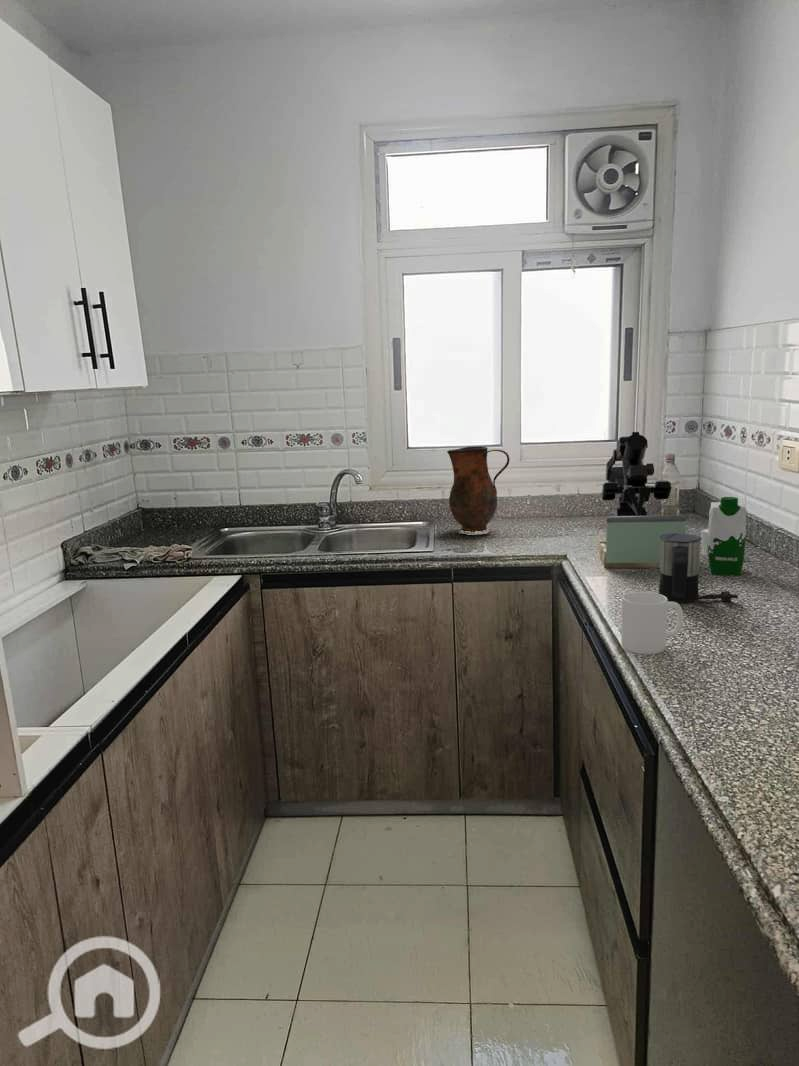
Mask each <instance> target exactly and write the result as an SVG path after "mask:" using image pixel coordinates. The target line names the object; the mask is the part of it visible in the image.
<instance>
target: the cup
mask: <svg viewBox="0 0 799 1066" xmlns="http://www.w3.org/2000/svg"><path fill="white" fill-rule="evenodd" d="M669 609H674V610H675V611H676V619H677V620H676V625H675V627H674V628H673V629H672V630H667V628H668V626H667V625H668V610H669ZM683 613H684V612H683V609H682V606H681V605H680V604H679V602H671V601H668V599H667V597H665V596H663V595H661V594H658V593H657V592H652V591H651V592H650V591H632V592H628V593H625V594H623V595H622V596H621V639H620V641H621V646H622V647H623V649H624V650H625V651H627V652H628V653H631V654H632V653H633V654H636V655H645V656H646V655H647V656H650V655H657V654H661V653H663V652H664V651H665V649H666V647H667V639H668V638H669V639H670V638H672V637H675V636H677V635H678V634H679V633H680V631H681V630H682V628H683V624H684V614H683Z"/></svg>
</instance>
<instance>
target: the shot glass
mask: <svg viewBox="0 0 799 1066" xmlns="http://www.w3.org/2000/svg"><path fill="white" fill-rule="evenodd" d="M700 537H701V538H702V539H701V540H700V542H701V555H703V556H705V555H706V556H705V557H708V528H703V529H701V530H700Z"/></svg>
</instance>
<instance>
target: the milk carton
mask: <svg viewBox="0 0 799 1066" xmlns="http://www.w3.org/2000/svg"><path fill="white" fill-rule="evenodd" d="M709 507H710V508H709V514H708V518H709V519H708V528H707V529H708V556H707V557H708V559H707V560H708V564H709V565H708V566H709V570H710V573H711V575H719V574H720V575H721V576H722V575H723V576H726V575H727V576H742V575H741V574H742V570H743V565H744V564H743V563H744V560H745V550H746V549H745V548H746V529H747V508H746V505H745V504H744V503H743V502H739V498H738V497H737V496H736V497H734V496H723V497H721V498H720V502H718V501H716V502H714V501H713V502H711V503H710V506H709Z"/></svg>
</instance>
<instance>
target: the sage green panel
mask: <svg viewBox="0 0 799 1066" xmlns="http://www.w3.org/2000/svg"><path fill="white" fill-rule="evenodd" d="M605 519H606V520H605V521H606V522H605V523H606V524H605V525H606V527H605V528H606V529H605V531H606V533H605V541H606V563H660V551H661V538H660V536H661V535H664V534H672V533H678V534H687V533H686V532H687V530H686V529H687V526H686V525H687V515H686V514H682V515H681V514H679V515H678V514H677V515H675V514H673V515H671V514H669V515H667V514H666V515H664V514H663V515H661V514H660V515H647V516H615V515H614V516H611V515H610V516H606V517H605Z"/></svg>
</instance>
